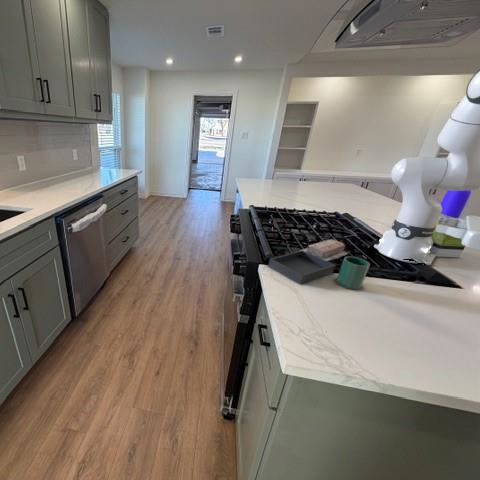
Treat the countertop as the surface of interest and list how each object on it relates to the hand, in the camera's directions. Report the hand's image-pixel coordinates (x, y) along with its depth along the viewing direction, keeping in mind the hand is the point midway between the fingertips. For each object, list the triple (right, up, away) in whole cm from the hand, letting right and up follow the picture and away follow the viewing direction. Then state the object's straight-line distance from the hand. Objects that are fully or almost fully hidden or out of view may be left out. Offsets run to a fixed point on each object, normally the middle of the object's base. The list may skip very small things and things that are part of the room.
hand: (437, 223), depth 65 cm
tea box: (+48, -9, +46) cm, 68 cm away
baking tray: (-21, -15, +27) cm, 37 cm away
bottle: (+75, 0, +68) cm, 101 cm away
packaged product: (-5, -10, +39) cm, 40 cm away
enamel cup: (-9, -19, +19) cm, 28 cm away
